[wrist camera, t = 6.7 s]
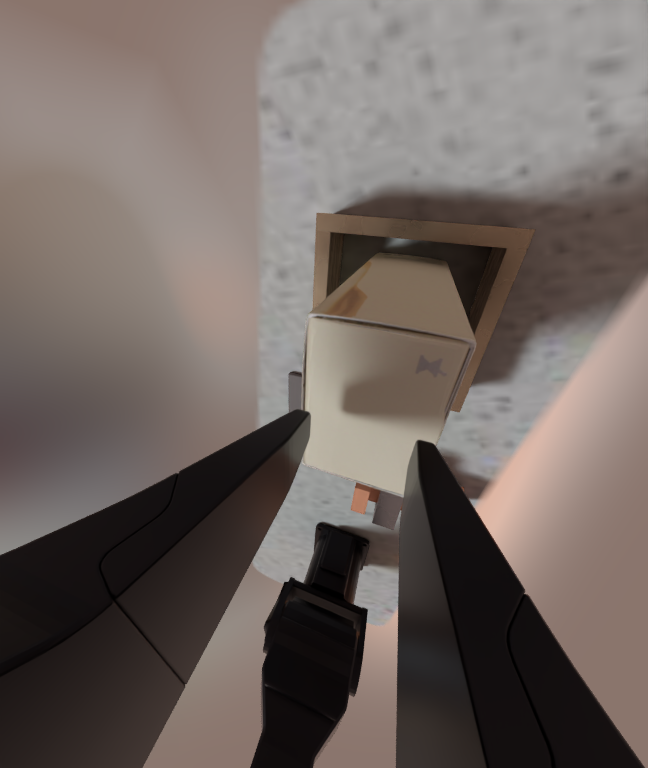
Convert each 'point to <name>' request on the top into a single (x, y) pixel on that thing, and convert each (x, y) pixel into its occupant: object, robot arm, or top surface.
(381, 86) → the top surface
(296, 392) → the coaster
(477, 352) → the open wooden box
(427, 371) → the skincare box
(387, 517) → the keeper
